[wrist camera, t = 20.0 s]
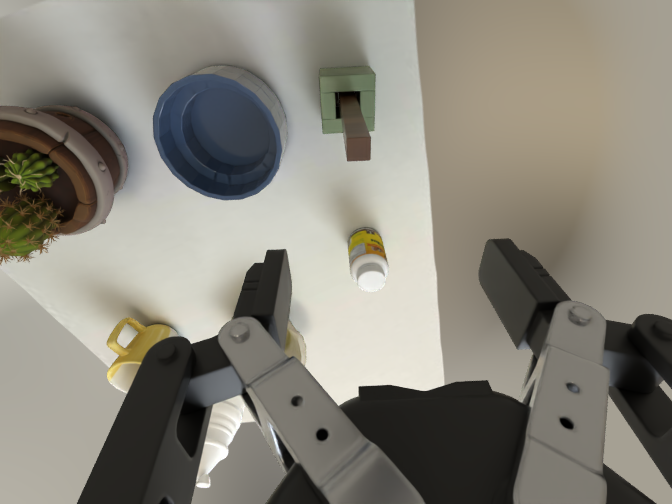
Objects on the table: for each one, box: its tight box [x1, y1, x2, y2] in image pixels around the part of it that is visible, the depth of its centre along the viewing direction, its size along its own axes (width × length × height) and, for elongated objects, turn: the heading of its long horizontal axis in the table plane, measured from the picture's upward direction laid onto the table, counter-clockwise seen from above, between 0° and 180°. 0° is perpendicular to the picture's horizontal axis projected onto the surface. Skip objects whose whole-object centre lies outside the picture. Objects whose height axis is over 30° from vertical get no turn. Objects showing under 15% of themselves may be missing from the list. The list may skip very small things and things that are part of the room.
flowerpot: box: [0, 105, 128, 266], centre depth 36 cm, size 14×15×20 cm
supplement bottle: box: [348, 228, 389, 292], centre depth 50 cm, size 6×6×10 cm
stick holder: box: [319, 66, 376, 134], centre depth 39 cm, size 6×6×6 cm
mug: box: [107, 317, 178, 393], centre depth 61 cm, size 14×10×10 cm
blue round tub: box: [153, 65, 288, 200], centre depth 40 cm, size 14×14×8 cm
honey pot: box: [196, 395, 245, 488], centre depth 73 cm, size 13×13×18 cm
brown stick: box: [338, 91, 371, 161], centre depth 33 cm, size 2×2×20 cm
